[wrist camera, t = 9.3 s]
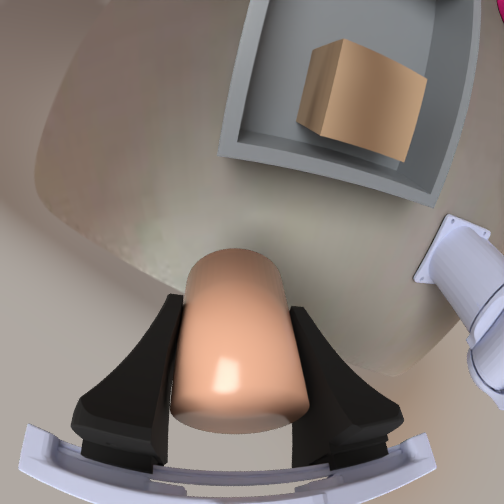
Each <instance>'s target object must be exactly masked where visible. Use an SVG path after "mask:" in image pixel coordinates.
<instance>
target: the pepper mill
mask: <svg viewBox="0 0 504 504" xmlns="http://www.w3.org/2000/svg"><path fill="white" fill-rule="evenodd" d="M497 4H498V8H499V12H500V14H501V17H502V19H503V21H504V0H497Z"/></svg>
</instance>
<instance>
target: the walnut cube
mask: <svg viewBox="0 0 504 504" xmlns="http://www.w3.org/2000/svg"><path fill="white" fill-rule="evenodd" d="M426 83H427V79H426V78H425V77H423V76H421V75H419V74H418V73H416V72H414V71H413V70H411V69H409V68H407V67H405V66H403V65H402V64H400V63H398V62H396V61H394V60H392V59H390V58H388V57H386V56H384V55H382V54H380V53H377V52H375V51H373V50H371V49H368V48H366V47H364V46H361V45H359V44H357V43H354V42H352V41H349V40H346V39H344V38H343V39H340V40H337V41H335V42H332V43H329V44H326V45H324V46H321V47H318V48H316V49H313V50H312V54H311V59H310V63H309V67H308V72H307V76H306V80H305V85H304V89H303V93H302V97H301V102H300V106H299V110H298V114H297V119H296V122H298V123H300V124H301V125H303V126H305V127H307V128H308V129H310V130H312V131H314V132H315V133H317V134H319V135H320V136H324V137H328V138H332V139H335V140H339V141H342V142H345V143H349V144H352V145H355V146H359V147H362V148H365V149H368V150H371V151H374V152H377V153H380V154H383V155H385V156H388V157H391V158H394V159H396V160H399V161H402V162H404V161H405V158H406V155H407V152H408V149H409V146H410V143H411V140H412V136H413V133H414V130H415V126H416V123H417V119H418V115H419V112H420V108H421V104H422V100H423V96H424V92H425V87H426Z"/></svg>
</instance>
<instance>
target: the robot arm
mask: <svg viewBox="0 0 504 504" xmlns="http://www.w3.org/2000/svg"><path fill="white" fill-rule="evenodd" d="M490 234H491V233H490V231H489V230H487V229H485V228H483V227H480V226H478V225H476V224H473V223H471V222H468V221H466V220H463V219H461V218H458V217H456V216H453V215H451V214H448V215H446V217H445V218H444V221H443V223H442V225H441V227H440V229H439V231H438V233H437V235H436V237H435V239H434V241H433V243H432V245H431V247H430V249H429V251H428V252H427V254H426V256H425V258H424V260H423V262H422V263H421V265H420V267H419V269H418V270H417V272H416V274H415V276H414V278H413V279H414V281H415V282H419V283H430V284H436V285H437V286H438V288H439V289H440V291H441V292H442V293H443V295H444V296H445V297H446V299H447V300H448V302H449V303H450V305H451V306H452V307H453V309H454V310H455V312H456V313H457V315H458V316H459V318H460V319H461V321H462V322H463V324H464V325H465V327H466V328H467V330H468V332H469V333H470V334H469V336H468V337H467V339H466V341H467V343H468V344H469V346H470V348H469V350H468V353H467V364H468V369H469V373H470V375H471V378H472V379H473V381H474V383H475V384H476V385H477V386H478V388H479V389H481V390H482V391H483V392H485V393H486V394H488V395H489V396H490V397H491V398H492V399H493V401H494V402H495V403H496V404H497V406H498V408H499V409H500V410H504V255H503V254H502V253H501V252H500V251H499V250H498V249H497V248H496V247H495V246H494V245H492V244H491V243H490V242H489V241H488V238H489V237H490ZM182 308H183V295H177V294H169V295H168V296H167V299H166V301H165V303H164V305H163V306H162V308H161V310H160V312H159V313H158V315H157V317H156V318H155V320H154V321H153V323H152V324H151V326H150V328H149V329H148V331H147V332H146V333H145V335H144V336H143V337H142V339H141V340H140V341H139V343H138V344H137V345H136V347H135V348H134V349H133V350H132V351H131V352H130V354H129V355H128V356H127V357H126V358H125V359H124V360H123V361H122V362H121V363H120V364H119V366H117V367H116V369H114V370H113V371H112V372H111V373H110V374H109V375H108V376H107V377H106V378H104V379H103V380H102V381H101V382H100V383H99V384H97V386H95V387H94V388H92V389H91V390H90V391H88V392H87V393H86V394H84V395H83V396H82V397H80V399H79V401H78V403H77V405H76V408H75V410H74V413H73V417H72V422H71V428H72V430H73V431H74V432H75V433H76V434H78V435H79V436H80V437H81V438H82V439H83V443H82V447H79V446H76V445H73V444H70V443H68V442H65V441H62V440H60V439H58V437H56V436H55V435H53V434H52V433H50V432H48V431H45V430H43V429H41V428H39V427H36V426H34V425H32V424H28V425H27V429H26V433H25V437H24V442H23V446H22V451H21V456H20V462H19V467H18V468H19V470H20V471H22V472H24V473H26V474H28V475H29V476H31V477H33V478H35V479H37V480H39V481H41V482H43V483H46V484H48V485H50V486H52V487H54V488H56V489H58V490H61V491H63V492H65V493H68V494H70V495H72V496H75V497H78V498H80V499H83V500H86V501H88V502H91V503H94V504H360V503H363V502H366V501H368V500H371V499H374V498H376V497H379V496H381V495H383V494H386V493H388V492H390V491H392V490H395V489H397V488H399V487H401V486H403V485H406V484H408V483H410V482H412V481H414V480H416V479H417V478H420V477H422V476H424V475H425V474H427V473H429V472H431V471H433V470H435V469H436V468H437V466H436V463H435V459H434V456H433V453H432V450H431V447H430V444H429V441H428V438H427V435H426V433H422V434H419V435H416V436H414V437H411V438H409V439H407V440H405V441H403V442H402V443H401V444H399V445H396V446H393V447H390V448H387V446H386V441H388V436H387V434H388V433H390V432H392V431H393V430H395V429H396V428H398V427H399V426H400V425H401V424H402V423H403V422H404V418H403V415H402V412H401V410H400V407H399V405H398V404H396V403H395V402H393V401H391V400H389V399H388V398H386V397H385V396H383V395H382V394H380V393H379V392H378V391H376V390H375V389H374V388H372V387H371V386H370V385H368V384H367V383H366V382H365V381H364V380H362V379H361V378H360V377H359V376H358V375H357V374H356V373H355V372H354V371H353V370H352V369H351V368H350V367H349V366H348V365H347V364H346V363H345V362H344V361H343V360H342V359H341V358H340V356H339V355H338V354H337V353H336V352H335V350H334V349H333V348H332V347H331V345H330V344H329V343H328V341H327V340H326V339H325V337H324V336H323V335H322V333H321V332H320V330H319V329H318V328H317V326H316V325H315V323H314V322H313V320H312V319H311V317H310V316H309V314H308V313H307V311H306V310H305V309H304V307H296V306H291V309H290V311H289V313H290V317H291V321H292V326H293V330H294V335H295V339H296V344H297V348H298V353H299V357H300V362H301V366H302V371H303V376H304V380H305V385H306V390H307V395H308V400H309V404H310V405H309V409H308V411H307V412H306V413H305V414H304V415H303V416H302V417H301V418H299V419H298V420H296V421H294V422H293V423H292V443H293V445H292V446H293V447H292V468H290V469H280V470H267V471H244V472H243V471H230V472H229V471H203V470H190V469H180V468H171V467H164V465H165V464H166V463H167V462H168V454H167V453H168V424H169V408H170V395H171V387H172V381H173V374H174V366H175V357H176V350H177V342H178V335H179V328H180V321H181V315H182ZM327 476H328V477H327ZM322 477H327V478H326V479H322V480H318V481H313V482H310V483H308V484H305V485H302V486H298V487H295V493H289V494H280V495H269V496H255V497H194V496H193V497H192V496H187V491H186V490H185V488H184V487H183V486H177V485H171V484H165V483H159V482H153V481H151V480H150V479H153V480H159V481H166V482H174V483H183V484H194V485H210V486H250V485H251V486H253V485H269V484H281V483H289V482H297V481H304V480H311V479H316V478H322Z"/></svg>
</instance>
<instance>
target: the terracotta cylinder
mask: <svg viewBox="0 0 504 504" xmlns="http://www.w3.org/2000/svg"><path fill="white" fill-rule="evenodd" d="M309 405H310V404H309V400H308V395H307V390H306V385H305V380H304V376H303V371H302V366H301V362H300V357H299V353H298V348H297V344H296V339H295V335H294V330H293V326H292V321H291V317H290V313H289V308H288V304H287V300H286V296H285V291H284V287H283V283H282V279H281V275H280V272H279V270H278V269H277V267H276V266H275V265H274V263H273V262H272V261H270V260H269V259H268V258H267V257H265V256H263V255H261V254H259V253H257V252H254V251H251V250H246V249H237V248H234V249H223V250H219V251H215V252H213V253H210V254H208V255H206V256H205V257H203V258H202V259H200V260H199V261H198V262H197V263H196V264H195V265H194V266H193V267H192V269H191V271H190V273H189V275H188V278H187V284H186V289H185V295H184V302H183V308H182V315H181V321H180V328H179V335H178V342H177V350H176V357H175V366H174V374H173V383H172V393H171V403H170V412H171V414H172V415H173V417H174V418H175V419H177V420H178V421H179V422H181V423H183V424H185V425H187V426H190V427H192V428H195V429H198V430H202V431H207V432H213V433H221V434H250V433H258V432H264V431H269V430H273V429H276V428H280V427H283V426H286V425H288V424H290V423H293V422H294V421H296V420H298V419H299V418H301V417H302V416H303V415H304V414H305V413H306V412H307V411H308V409H309Z"/></svg>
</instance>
